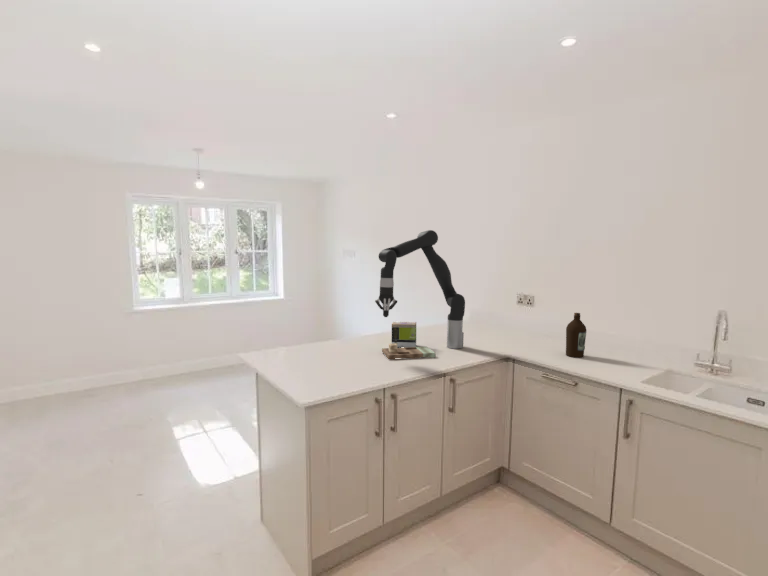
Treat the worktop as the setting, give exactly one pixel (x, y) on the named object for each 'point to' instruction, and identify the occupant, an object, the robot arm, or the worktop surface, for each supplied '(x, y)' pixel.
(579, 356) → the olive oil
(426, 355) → the board
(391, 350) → the block
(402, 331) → the tea box
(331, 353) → the worktop surface
